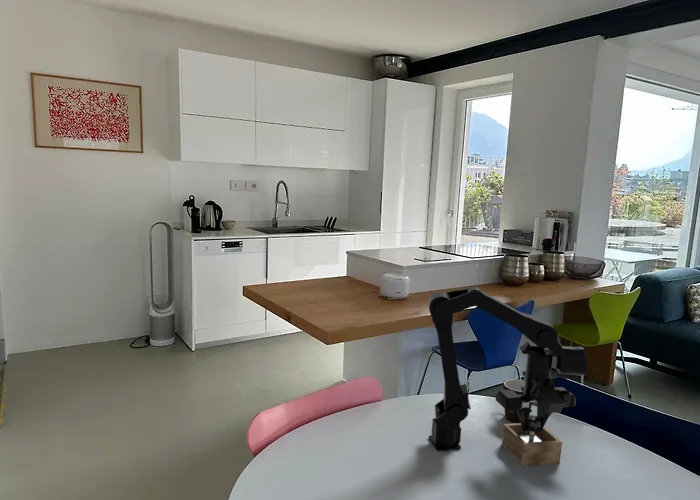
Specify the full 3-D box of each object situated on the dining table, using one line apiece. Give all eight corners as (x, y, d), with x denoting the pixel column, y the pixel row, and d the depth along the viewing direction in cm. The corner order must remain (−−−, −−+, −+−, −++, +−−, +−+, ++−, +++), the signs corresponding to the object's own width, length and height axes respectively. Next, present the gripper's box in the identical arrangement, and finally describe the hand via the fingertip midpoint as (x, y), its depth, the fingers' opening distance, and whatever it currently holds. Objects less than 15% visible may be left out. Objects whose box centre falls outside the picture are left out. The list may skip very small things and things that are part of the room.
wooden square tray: (522, 466, 119) (524, 444, 118) (501, 444, 129) (503, 424, 128) (559, 463, 121) (562, 442, 120) (536, 441, 131) (538, 422, 130)
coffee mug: (534, 427, 138) (538, 393, 137) (502, 423, 140) (505, 389, 138) (528, 409, 150) (531, 377, 148) (498, 405, 151) (501, 374, 150)
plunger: (525, 452, 120) (528, 426, 119) (509, 436, 127) (512, 412, 126) (552, 450, 122) (555, 425, 121) (535, 434, 129) (538, 410, 128)
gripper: (521, 386, 112) (515, 450, 114) (594, 382, 116) (586, 445, 118) (497, 367, 123) (491, 426, 125) (564, 365, 127) (558, 422, 129)
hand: (532, 430), depth 124 cm, fingers closed on plunger, 4 cm apart
